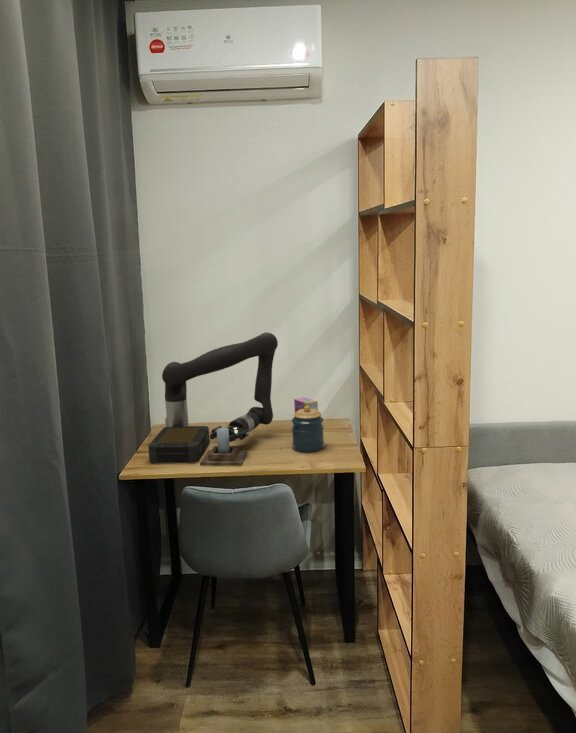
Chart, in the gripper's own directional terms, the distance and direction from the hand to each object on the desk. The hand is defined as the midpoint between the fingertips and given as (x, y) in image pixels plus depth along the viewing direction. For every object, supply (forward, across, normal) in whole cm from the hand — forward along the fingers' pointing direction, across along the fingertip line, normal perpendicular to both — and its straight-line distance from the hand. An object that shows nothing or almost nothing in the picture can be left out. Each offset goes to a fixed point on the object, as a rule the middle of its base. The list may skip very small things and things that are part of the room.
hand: (220, 438), depth 235 cm
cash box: (-3, -22, +10) cm, 24 cm away
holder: (-2, 0, +9) cm, 9 cm away
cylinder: (-2, 0, +8) cm, 8 cm away
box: (-54, +12, +10) cm, 56 cm away
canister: (-26, +25, +10) cm, 38 cm away
